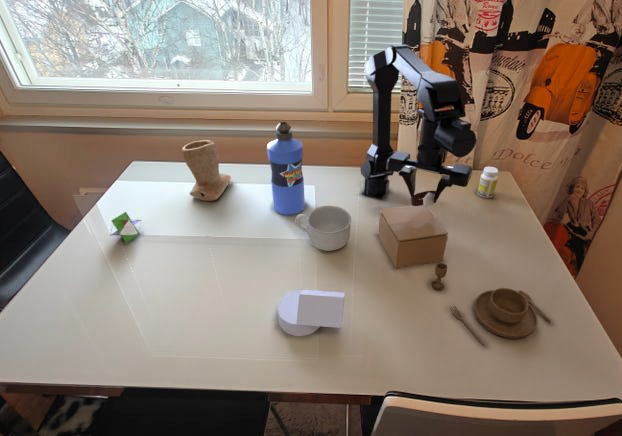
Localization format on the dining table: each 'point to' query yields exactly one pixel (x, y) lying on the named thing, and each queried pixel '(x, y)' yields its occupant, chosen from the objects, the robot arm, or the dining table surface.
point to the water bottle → (286, 171)
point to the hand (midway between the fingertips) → (423, 199)
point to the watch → (427, 198)
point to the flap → (406, 214)
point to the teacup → (327, 227)
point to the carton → (413, 241)
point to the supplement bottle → (488, 182)
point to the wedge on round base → (310, 311)
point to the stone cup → (205, 170)
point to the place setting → (499, 309)
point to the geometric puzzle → (125, 227)
